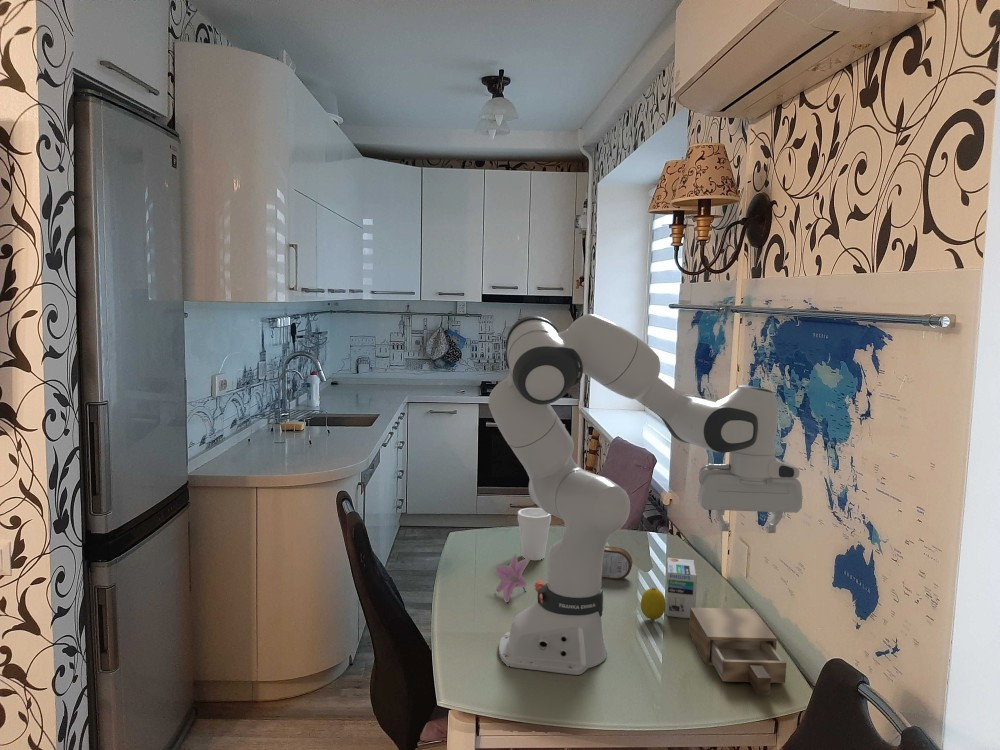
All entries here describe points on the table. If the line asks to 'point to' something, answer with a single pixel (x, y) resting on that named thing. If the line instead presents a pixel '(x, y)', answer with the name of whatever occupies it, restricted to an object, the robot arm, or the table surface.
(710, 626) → the sleeve
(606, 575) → the tin
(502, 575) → the lily
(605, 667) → the table surface
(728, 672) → the tray
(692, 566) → the light bulb box
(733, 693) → the table surface
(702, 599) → the table surface
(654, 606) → the lemon
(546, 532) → the foam cup
